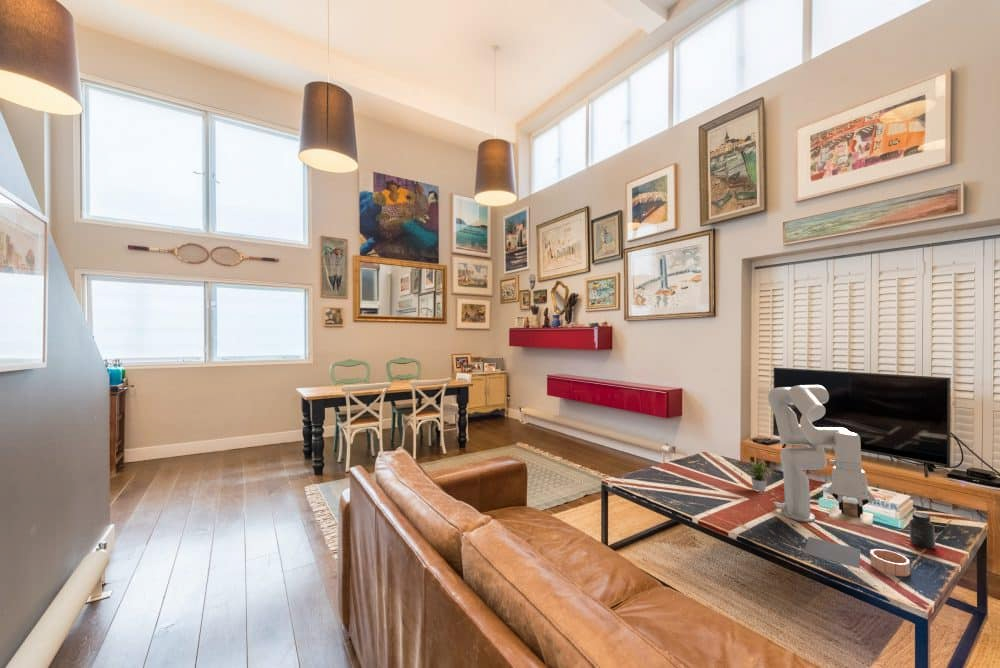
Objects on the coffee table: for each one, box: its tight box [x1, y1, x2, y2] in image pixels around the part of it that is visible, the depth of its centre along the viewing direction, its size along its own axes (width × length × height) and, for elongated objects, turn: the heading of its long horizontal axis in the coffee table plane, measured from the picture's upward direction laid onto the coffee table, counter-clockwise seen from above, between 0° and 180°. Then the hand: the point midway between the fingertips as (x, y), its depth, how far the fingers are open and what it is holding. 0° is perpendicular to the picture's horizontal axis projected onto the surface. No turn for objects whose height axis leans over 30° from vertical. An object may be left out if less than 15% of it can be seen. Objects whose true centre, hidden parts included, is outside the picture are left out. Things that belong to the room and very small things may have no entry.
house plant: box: [744, 458, 773, 491], centre depth 217 cm, size 14×14×16 cm
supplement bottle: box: [909, 511, 936, 550], centre depth 157 cm, size 7×7×12 cm
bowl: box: [870, 548, 911, 577], centre depth 142 cm, size 10×10×5 cm
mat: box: [803, 536, 861, 569], centre depth 154 cm, size 16×16×1 cm
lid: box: [828, 498, 874, 528], centre depth 149 cm, size 12×12×6 cm
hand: (851, 513), depth 149 cm, fingers closed on lid, 4 cm apart
